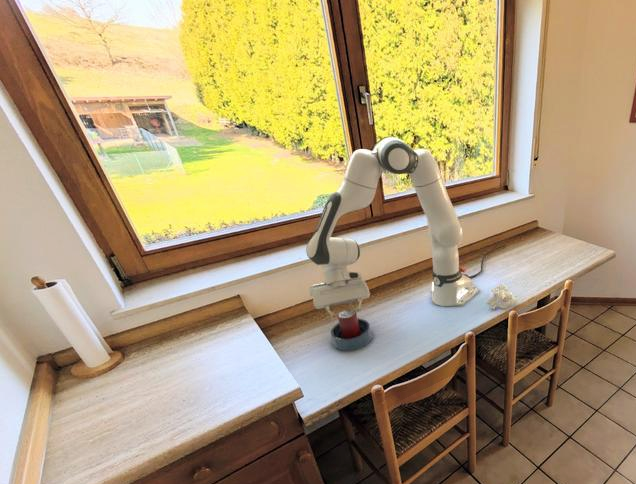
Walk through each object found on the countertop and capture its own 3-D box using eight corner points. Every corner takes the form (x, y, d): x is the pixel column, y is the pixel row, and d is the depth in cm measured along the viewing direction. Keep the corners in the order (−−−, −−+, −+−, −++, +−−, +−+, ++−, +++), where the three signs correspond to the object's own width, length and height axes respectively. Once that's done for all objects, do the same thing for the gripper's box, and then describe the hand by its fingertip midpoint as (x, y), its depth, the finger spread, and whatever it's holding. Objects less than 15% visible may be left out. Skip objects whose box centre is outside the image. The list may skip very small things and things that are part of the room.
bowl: (358, 325, 143) (356, 314, 140) (379, 339, 135) (377, 327, 132) (326, 341, 134) (323, 329, 131) (347, 357, 126) (344, 345, 123)
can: (355, 332, 138) (349, 306, 132) (364, 339, 134) (359, 313, 129) (340, 340, 134) (333, 314, 128) (349, 347, 130) (343, 320, 124)
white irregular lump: (516, 307, 149) (500, 291, 147) (501, 318, 153) (485, 303, 151) (520, 293, 159) (505, 278, 157) (506, 304, 163) (491, 290, 161)
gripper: (307, 283, 130) (316, 319, 128) (364, 272, 138) (373, 305, 136) (309, 288, 136) (317, 322, 134) (364, 277, 144) (372, 309, 142)
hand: (346, 314), depth 135 cm, fingers open, 8 cm apart
